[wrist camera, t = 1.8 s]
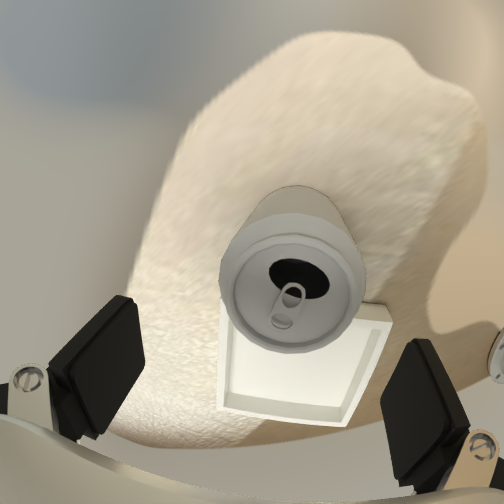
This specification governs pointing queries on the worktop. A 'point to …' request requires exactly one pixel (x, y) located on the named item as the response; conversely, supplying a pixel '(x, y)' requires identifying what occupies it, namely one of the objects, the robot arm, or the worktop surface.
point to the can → (293, 273)
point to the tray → (300, 372)
